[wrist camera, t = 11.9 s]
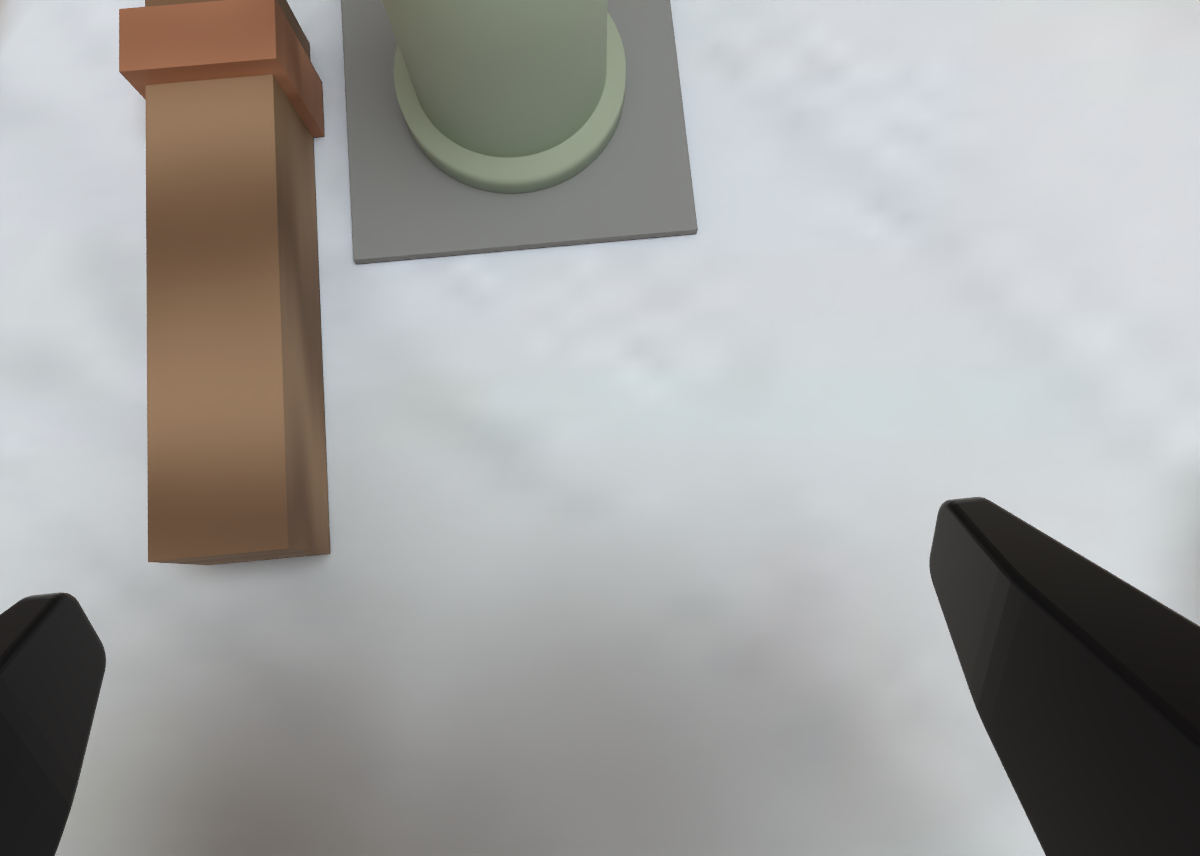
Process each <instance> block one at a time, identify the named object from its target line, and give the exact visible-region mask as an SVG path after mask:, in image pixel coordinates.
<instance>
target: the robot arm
mask: <svg viewBox="0 0 1200 856" xmlns="http://www.w3.org/2000/svg"><path fill="white" fill-rule="evenodd" d="M930 574H931V579H932V582H933V585H934V588H935V591H936V594H937V597H938V600H939V603H940V606H941V608H942V611H943V614H944V617H945V620H946V623H947V626H948V629H949V632H950V635H951V638H952V640H953V643H954V646H955V649H956V652H957V655H958V658H959V661H960V664H961V667H962V670H963V672H964V675H965V678H966V681H967V684H968V687H969V690H970V692H971V695H972V698H973V700H974V703H975V706H976V709H977V711H978V713H979V715H980V718H981V720H982V722H983V724H984V727H985V729H986V731H987V733H988V735H989V737H990V739H991V742H992V744H993V746H994V748H995V750H996V752H997V754H998V756H999V758H1000V760H1001V763H1002V765H1003V767H1004V769H1005V771H1006V773H1007V775H1008V777H1009V779H1010V781H1011V783H1012V786H1013V788H1014V790H1015V792H1016V794H1017V796H1018V798H1019V800H1020V802H1021V804H1022V806H1023V809H1024V811H1025V813H1026V815H1027V817H1028V819H1029V821H1030V823H1031V825H1032V827H1033V830H1034V832H1035V834H1036V836H1037V838H1038V840H1039V842H1040V844H1041V846H1042V848H1043V850H1044V853H1045V855H1046V856H1200V626H1198V625H1197V624H1195V623H1193V622H1192V621H1190V620H1188V619H1187V618H1185V617H1183V616H1182V615H1180V614H1178V613H1177V612H1175V611H1173V610H1172V609H1170V608H1168V607H1167V606H1165V605H1163V604H1162V603H1160V602H1158V601H1157V600H1155V599H1153V598H1152V597H1150V596H1148V595H1147V594H1145V593H1143V592H1142V591H1140V590H1138V589H1137V588H1135V587H1133V586H1132V585H1130V584H1128V583H1127V582H1125V581H1123V580H1122V579H1120V578H1118V577H1117V576H1115V575H1113V574H1112V573H1110V572H1108V571H1107V570H1105V569H1103V568H1102V567H1100V566H1098V565H1097V564H1095V563H1093V562H1092V561H1090V560H1088V559H1087V558H1085V557H1083V556H1081V555H1080V554H1078V553H1076V552H1075V551H1073V550H1071V549H1070V548H1068V547H1066V546H1065V545H1063V544H1061V543H1060V542H1058V541H1056V540H1055V539H1053V538H1051V537H1050V536H1048V535H1046V534H1045V533H1043V532H1041V531H1040V530H1038V529H1036V528H1035V527H1033V526H1031V525H1030V524H1028V523H1026V522H1025V521H1023V520H1021V519H1020V518H1018V517H1016V516H1015V515H1013V514H1011V513H1010V512H1008V511H1006V510H1005V509H1003V508H1001V507H1000V506H998V505H996V504H995V503H993V502H991V501H989V500H987V499H985V498H982V497H972V498H963V499H953V500H948V501H946V502H944V503H943V504H942V505H941V507H940V509H939V512H938V516H937V521H936V527H935V532H934V537H933V543H932V548H931V553H930ZM105 666H106V656H105V651H104V647H103V644H102V642H101V641H100V639H99V637H98V635H97V634H96V632H95V630H94V628H93V627H92V625H91V623H90V621H89V620H88V618H87V616H86V614H85V613H84V611H83V609H82V608H81V606H80V604H79V602H78V601H77V600H76V598H74V597H73V596H72V595H70V594H68V593H52V594H43V595H33V596H29V597H26V598H23V599H22V600H20V601H19V602H17V603H16V604H14V605H13V606H12V607H10V608H9V609H8V610H6V611H5V612H3V613H2V614H1V615H0V856H55V853H56V851H57V848H58V845H59V842H60V839H61V837H62V834H63V831H64V828H65V825H66V822H67V819H68V816H69V813H70V810H71V806H72V803H73V799H74V795H75V792H76V788H77V785H78V780H79V776H80V772H81V768H82V764H83V760H84V756H85V751H86V747H87V743H88V739H89V735H90V731H91V726H92V722H93V718H94V714H95V710H96V706H97V701H98V697H99V693H100V689H101V685H102V681H103V676H104V672H105Z"/></svg>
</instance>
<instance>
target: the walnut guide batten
mask: <svg viewBox="0 0 1200 856" xmlns="http://www.w3.org/2000/svg"><path fill="white" fill-rule="evenodd" d="M119 72H120V73H121V74H122V75H123V76H124V77H125V78H126V79H127V80H128V81H129V82H130V84H131V85H132V86H133V87H134V88H135V89H136V90H137V91H138V92H139V93H140V94H141V95H142V96H143V97H144V99H145V100H146V239H147V431H148V562H159V563H179V564H199V565H214V564H225V563H235V562H246V561H256V560H267V559H278V558H288V557H299V556H309V555H320V554H330V536H329V512H328V487H327V463H326V438H325V414H324V389H323V365H322V340H321V316H320V291H319V267H318V242H317V218H316V193H315V169H314V144H313V137H322V136H324V117H323V94H322V81H321V80H320V78H319V76H318V74H317V72H316V71H315V69H314V67H313V65H312V63H311V62H310V46H309V42H308V40H307V38H306V36H305V34H304V33H303V31H302V29H301V27H300V25H299V23H298V21H297V20H296V18H295V16H294V14H293V12H292V10H291V8H290V7H289V5H288V3H287V1H286V0H145V7H139V8H127V9H119Z"/></svg>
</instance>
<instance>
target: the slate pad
mask: <svg viewBox="0 0 1200 856" xmlns="http://www.w3.org/2000/svg"><path fill="white" fill-rule="evenodd" d="M341 9H342V29H343V50H344V71H345V92H346V113H347V133H348V154H349V175H350V196H351V216H352V237H353V258H354V261H355V262H356V264H363V263H374V262H385V261H396V260H408V259H419V258H430V257H441V256H452V255H464V254H475V253H486V252H497V251H508V250H520V249H531V248H542V247H553V246H564V245H576V244H587V243H598V242H609V241H620V240H632V239H643V238H654V237H665V236H676V235H688V234H696V233H697V220H696V212H695V204H694V195H693V187H692V179H691V170H690V162H689V154H688V145H687V137H686V129H685V120H684V112H683V104H682V95H681V87H680V79H679V71H678V62H677V54H676V46H675V37H674V29H673V21H672V12H671V4H670V0H608V4H607V12H608V13H609V15H610V16H611V18H612V20H613V21H614V23H615V25H616V27H617V30H618V32H619V34H620V37H621V40H622V44H623V47H624V53H625V61H626V79H625V97H624V104H623V110H622V114H621V117H620V121H619V124H618V126H617V128H616V130H615V133H614V135H613V137H612V138H611V140H610V141H609V143H608V144H607V146H606V148H605V149H604V150H603V151H602V152H601V154H600V155H599V156H598V157H597V158H596V159H595V160H594V161H593V162H592V163H591V164H590V165H589V166H587V167H586V168H585V169H584V170H582V171H581V172H579V173H578V174H577V175H575V176H574V177H572V178H570V179H568V180H566V181H564V182H562V183H560V184H557V185H555V186H552V187H549V188H546V189H542V190H538V191H534V192H526V193H517V194H516V193H497V192H490V191H485V190H481V189H477V188H474V187H471V186H469V185H466V184H464V183H461V182H459V181H457V180H456V179H454V178H452V177H450V176H449V175H447V174H446V173H444V172H443V171H442V170H440V169H439V168H438V167H436V166H435V165H434V164H433V163H432V162H431V161H430V160H429V159H428V158H427V157H426V156H425V154H424V153H423V152H422V150H421V149H420V148H419V146H418V145H417V143H416V142H415V140H414V138H413V136H412V134H411V132H410V130H409V128H408V125H407V123H406V120H405V118H404V115H403V113H402V110H401V108H400V105H399V102H398V100H397V95H396V91H395V86H394V74H393V71H394V58H395V53H396V49H397V44H398V43H397V40H396V38H395V35H394V32H393V29H392V27H391V24H390V21H389V18H388V16H387V13H386V10H385V7H384V5H383V2H382V0H341Z"/></svg>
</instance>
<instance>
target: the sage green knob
mask: <svg viewBox="0 0 1200 856" xmlns="http://www.w3.org/2000/svg"><path fill="white" fill-rule="evenodd" d="M382 2H383V5H384V7H385V10H386V13H387V16H388V18H389V21H390V24H391V27H392V29H393V32H394V35H395V38H396V40H397V43H398V44H397V49H396V53H395V58H394V71H393V74H394V86H395V91H396V95H397V100H398V102H399V105H400V108H401V110H402V113H403V115H404V118H405V120H406V123H407V125H408V128H409V130H410V132H411V134H412V136H413V138H414V140H415V142H416V143H417V145H418V146H419V148H420V149H421V150H422V152H423V153H424V154H425V156H426V157H427V158H428V159H429V160H430V161H431V162H432V163H433V164H434V165H435V166H436V167H438V168H439V169H440V170H442V171H443V172H444V173H446V174H447V175H449V176H450V177H452V178H454V179H456V180H457V181H459V182H461V183H464V184H466V185H469V186H471V187H474V188H477V189H481V190H485V191H490V192H497V193H516V194H517V193H526V192H534V191H538V190H542V189H546V188H549V187H552V186H555V185H557V184H560V183H562V182H564V181H566V180H568V179H570V178H572V177H574V176H575V175H577V174H578V173H579V172H581V171H582V170H584V169H585V168H586V167H587V166H589V165H590V164H591V163H592V162H593V161H594V160H595V159H596V158H597V157H598V156H599V155H600V154H601V152H602V151H603V150H604V149H605V148H606V146H607V144H608V143H609V141H610V140H611V138H612V137H613V135H614V133H615V130H616V128H617V126H618V124H619V121H620V117H621V114H622V110H623V104H624V97H625V79H626V61H625V53H624V47H623V44H622V40H621V37H620V34H619V32H618V30H617V27H616V25H615V23H614V21H613V20H612V18H611V16H610V15H609V13H608V12H607V4H608V0H382Z"/></svg>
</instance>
